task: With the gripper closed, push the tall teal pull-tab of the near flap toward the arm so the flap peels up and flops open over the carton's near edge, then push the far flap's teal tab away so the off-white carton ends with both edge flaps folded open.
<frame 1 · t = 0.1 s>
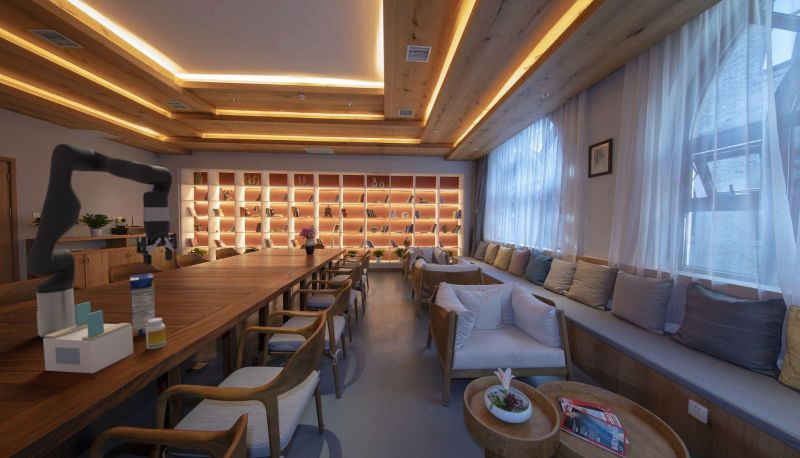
hand: (158, 262, 108), 29 cm above the table, fingers open, 8 cm apart
supplement bottle: (156, 346, 103), on the table
flap near: (71, 318, 92), point 14 cm above the table, hinge at 0.0°
carton: (92, 361, 92), on the table
flap far: (106, 320, 91), point 14 cm above the table, hinge at 0.0°
beverage box: (144, 330, 117), on the table
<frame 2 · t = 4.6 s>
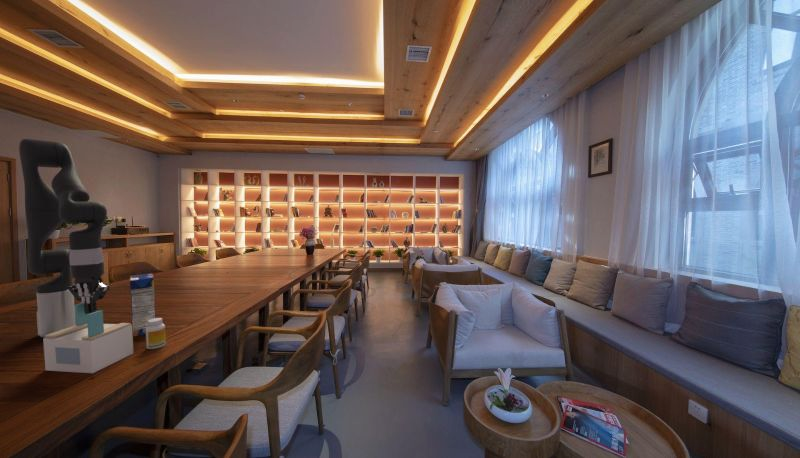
hand: (90, 313, 95), 14 cm above the table, fingers closed
flap near: (71, 318, 92), point 14 cm above the table, hinge at 2.5°, touching gripper
everything else where it was.
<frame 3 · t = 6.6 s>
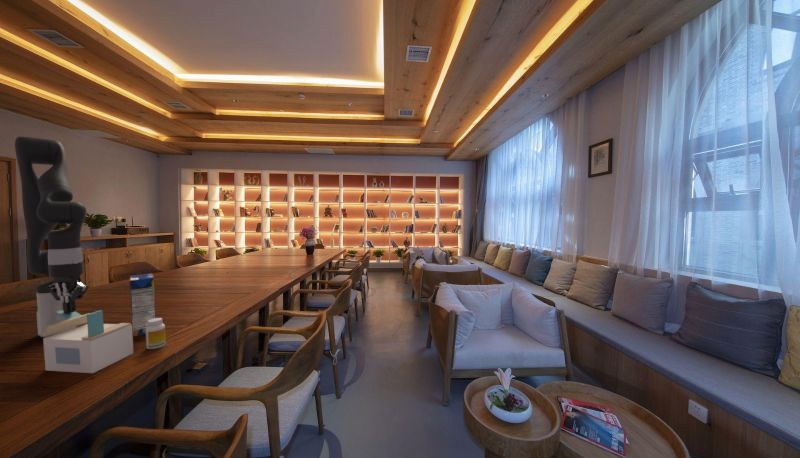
hand: (69, 312, 96), 14 cm above the table, fingers closed
flap near: (59, 319, 92), point 14 cm above the table, hinge at 62.9°, touching gripper
everything else where it was.
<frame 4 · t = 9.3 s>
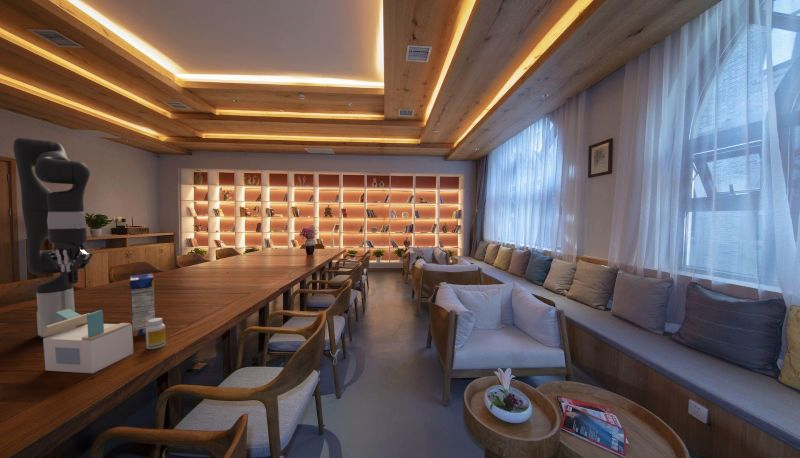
hand: (71, 283, 87), 27 cm above the table, fingers closed
flap near: (58, 319, 92), point 14 cm above the table, hinge at 64.8°
everything else where it was.
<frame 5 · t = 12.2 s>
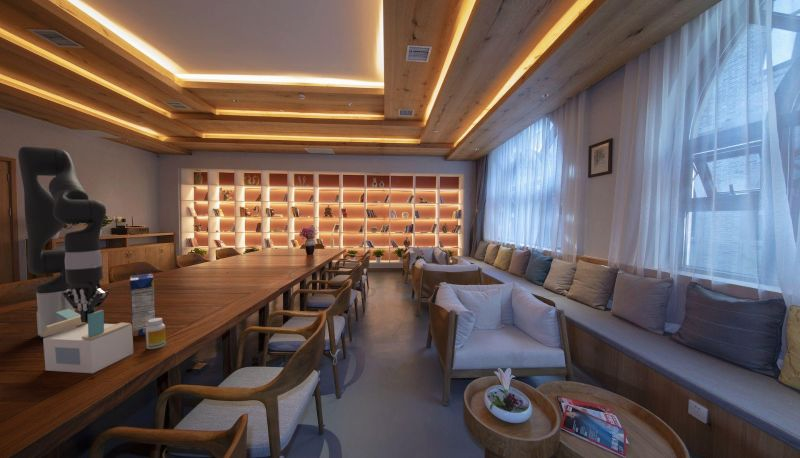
hand: (87, 321, 87), 15 cm above the table, fingers closed
flap far: (107, 319, 91), point 14 cm above the table, hinge at 2.4°, touching gripper
everything else where it was.
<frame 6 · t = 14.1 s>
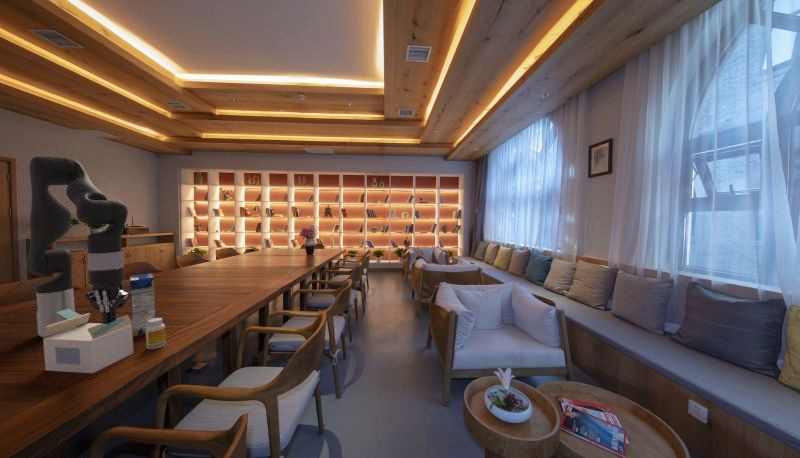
hand: (109, 323, 87), 15 cm above the table, fingers closed
flap far: (119, 321, 90), point 14 cm above the table, hinge at 60.2°, touching gripper
everything else where it was.
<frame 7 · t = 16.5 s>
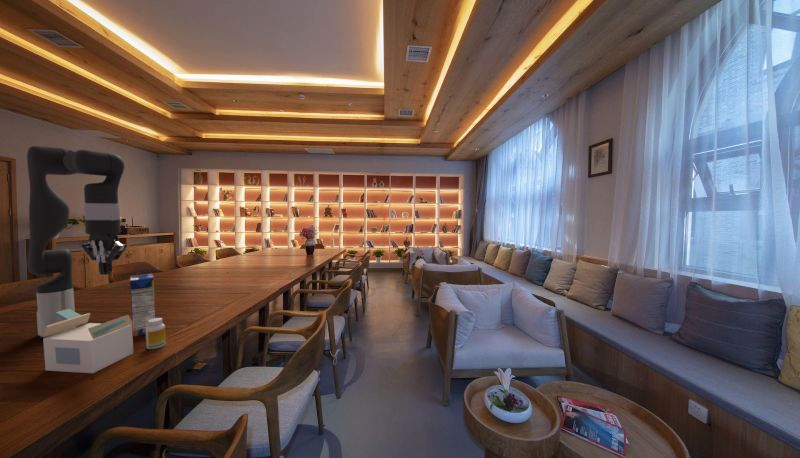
hand: (105, 274, 88), 29 cm above the table, fingers closed
flap far: (120, 321, 90), point 14 cm above the table, hinge at 64.6°
everything else where it was.
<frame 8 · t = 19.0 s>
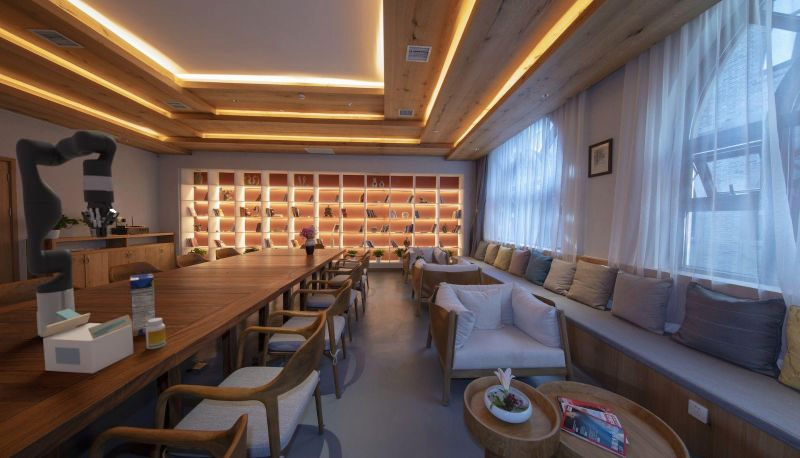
hand: (101, 237, 103), 39 cm above the table, fingers closed
nothing on the table moved.
at the end: flap far at +65° (first picture: +0°); flap near at +65° (first picture: +0°) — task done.
